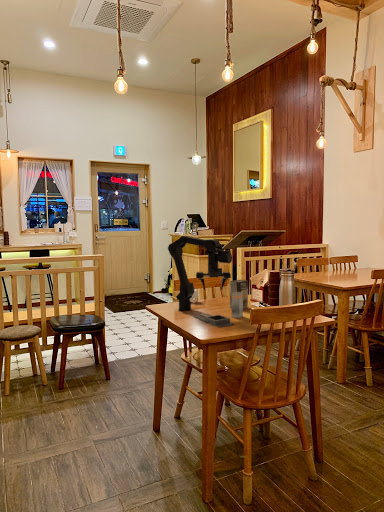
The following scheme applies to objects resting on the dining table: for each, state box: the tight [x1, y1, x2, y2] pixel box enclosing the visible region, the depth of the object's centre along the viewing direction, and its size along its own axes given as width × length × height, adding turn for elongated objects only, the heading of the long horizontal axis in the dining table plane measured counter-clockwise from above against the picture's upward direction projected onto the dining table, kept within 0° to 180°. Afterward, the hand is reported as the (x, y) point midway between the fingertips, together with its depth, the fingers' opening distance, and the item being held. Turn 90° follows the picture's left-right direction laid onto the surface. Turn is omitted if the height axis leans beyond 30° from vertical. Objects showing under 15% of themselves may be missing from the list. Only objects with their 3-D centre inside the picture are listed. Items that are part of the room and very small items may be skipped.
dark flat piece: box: [192, 313, 235, 328], centre depth 192 cm, size 24×9×2 cm, turn 31°
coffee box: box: [229, 279, 249, 309], centre depth 219 cm, size 9×6×16 cm
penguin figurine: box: [190, 288, 199, 304], centre depth 236 cm, size 6×8×12 cm
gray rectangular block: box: [231, 292, 244, 319], centre depth 198 cm, size 5×5×13 cm
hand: (213, 290), depth 206 cm, fingers open, 9 cm apart
